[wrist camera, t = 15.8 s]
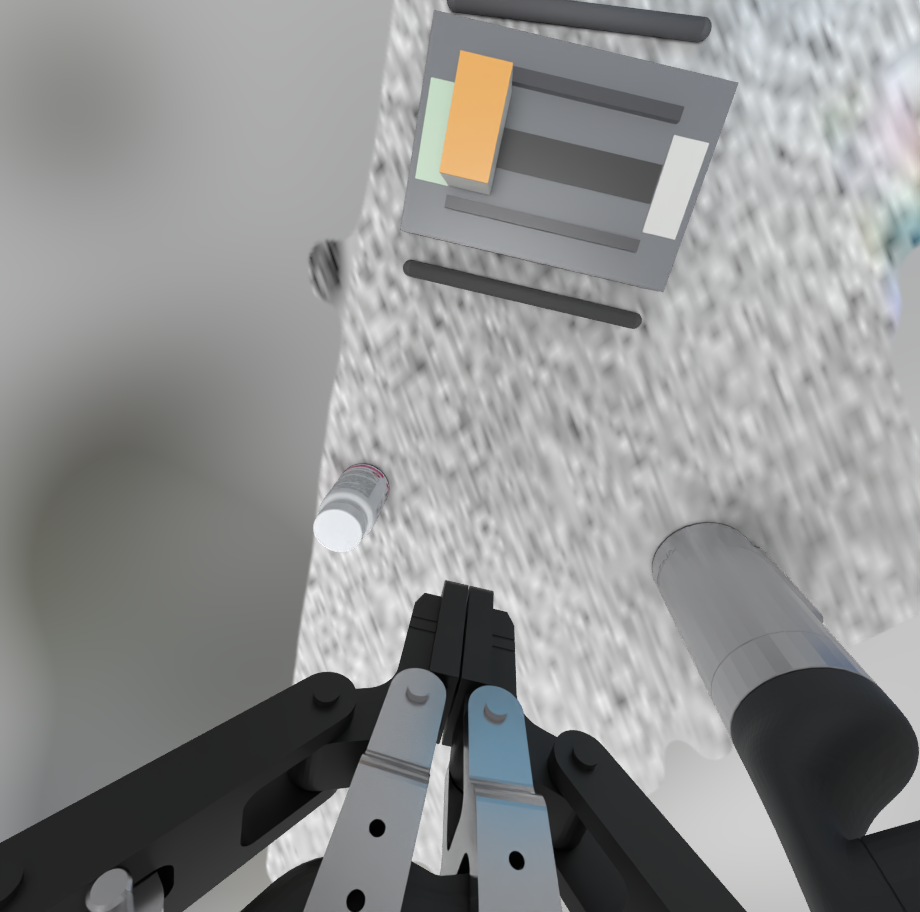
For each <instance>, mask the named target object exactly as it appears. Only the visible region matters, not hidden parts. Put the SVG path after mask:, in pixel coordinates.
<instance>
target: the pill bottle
mask: <svg viewBox="0 0 920 912" xmlns="http://www.w3.org/2000/svg"><path fill="white" fill-rule="evenodd" d="M388 494H389V485H388V481H387V479H386V477H385V476H384V474H383V473H382V472H381V471H380V470H378V469H377V468H375V467H373V466H371V465H367V464H358V465H354V466H351V467H350V468H348V469H347V470H346V471H345V472H344V473H343V474H342V475H341V477H340V478H339V479H338V481H337V482H336V484H335V485H334V486H333V488H332V489H331V490H330V492H329V493H328V494H327V495H326V497H325V498H324V500H323V501H322V503H321V505H320V508H319V514H318V516H317V517H316V519H315V521H314V526H313V530H314V534H315V537H316V539H317V540H318V541H319V543H320V544H321V545H323V546H324V547H325V548H327V549H329V550H331V551H335V552H347V551H350V550H352V549H354V548H355V547H357V546H358V544H359V543H360V542H361V540H362V538H363V537H365V536H366V535H367V534H368V533H369V532H370V531H371V530H372V528H373V526H374V524H375V522H376V520H377V518H378V516H379V514H380V512H381V510H382V508H383V506H384V504H385V502H386V500H387V497H388Z"/></svg>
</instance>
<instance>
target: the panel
mask: <svg viewBox="0 0 920 912" xmlns="http://www.w3.org/2000/svg"><path fill="white" fill-rule="evenodd" d="M460 50H462V51H466V52H471V53H475V54H479V55H483V56H487V57H492V58H496V59H500V60H504V61H508V62H513V75H512V92H511V98H510V103H509V108H508V112H507V117H506V122H505V126H504V131H503V136H502V140H501V145H500V150H499V154H498V159H497V164H496V168H495V173H494V178H493V183H492V187H491V192H490V195H487V194H483V193H478V192H474V191H470V190H466V189H461V188H457V187H453V186H449V185H448V184H447V183H446V181H445V180H444V178H443V177H442V175H441V174H440V172H439V170H440V164H441V159H442V153H443V147H444V141H445V136H446V130H447V124H448V119H449V113H450V107H451V101H452V96H453V90H454V84H455V79H456V73H457V67H458V61H459V56H460ZM737 86H738V82H733V81H729V80H725V79H721V78H717V77H712V76H708V75H704V74H700V73H696V72H692V71H687V70H683V69H679V68H675V67H671V66H666V65H662V64H658V63H654V62H650V61H646V60H641V59H637V58H633V57H629V56H625V55H620V54H616V53H612V52H608V51H604V50H599V49H595V48H591V47H587V46H583V45H579V44H574V43H570V42H566V41H562V40H558V39H553V38H549V37H545V36H541V35H537V34H532V33H528V32H524V31H520V30H516V29H512V28H507V27H503V26H499V25H495V24H491V23H486V22H482V21H478V20H474V19H470V18H466V17H461V16H457V15H453V14H449V13H445V12H440V11H436V10H434V14H433V21H432V27H431V34H430V40H429V47H428V53H427V60H426V66H425V73H424V79H423V86H422V92H421V99H420V105H419V112H418V118H417V125H416V131H415V138H414V144H413V151H412V157H411V164H410V170H409V177H408V183H407V190H406V196H405V203H404V209H403V216H402V222H401V229H400V230H402V231H405V232H409V233H413V234H417V235H422V236H426V237H430V238H434V239H439V240H443V241H447V242H451V243H456V244H460V245H464V246H468V247H473V248H477V249H481V250H485V251H490V252H494V253H498V254H502V255H506V256H511V257H515V258H519V259H523V260H528V261H532V262H536V263H540V264H545V265H549V266H553V267H557V268H562V269H566V270H570V271H574V272H579V273H583V274H587V275H591V276H596V277H600V278H604V279H608V280H613V281H617V282H621V283H625V284H629V285H634V286H638V287H642V288H646V289H651V290H655V291H661V292H663V291H664V288H665V285H666V283H667V280H668V277H669V274H670V272H671V269H672V266H673V263H674V260H675V258H676V255H677V252H678V249H679V247H680V244H681V241H682V238H683V235H684V233H685V230H686V227H687V224H688V222H689V219H690V216H691V213H692V211H693V208H694V205H695V202H696V199H697V197H698V194H699V191H700V188H701V186H702V183H703V180H704V177H705V174H706V172H707V169H708V166H709V163H710V161H711V158H712V155H713V152H714V149H715V147H716V144H717V141H718V138H719V136H720V133H721V130H722V127H723V124H724V122H725V119H726V116H727V113H728V111H729V108H730V105H731V102H732V99H733V97H734V94H735V91H736V88H737Z"/></svg>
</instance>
